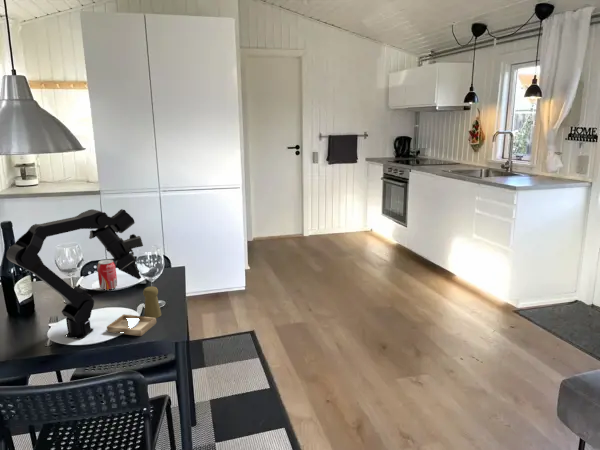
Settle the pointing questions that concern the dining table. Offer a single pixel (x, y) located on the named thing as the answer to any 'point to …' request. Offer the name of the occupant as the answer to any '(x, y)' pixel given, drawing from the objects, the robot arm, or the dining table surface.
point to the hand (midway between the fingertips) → (139, 275)
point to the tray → (139, 330)
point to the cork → (151, 302)
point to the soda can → (107, 274)
